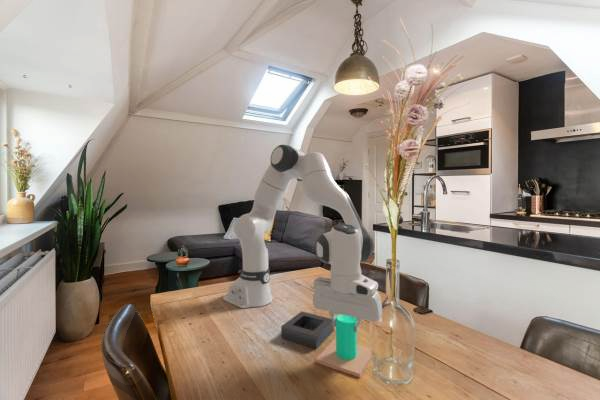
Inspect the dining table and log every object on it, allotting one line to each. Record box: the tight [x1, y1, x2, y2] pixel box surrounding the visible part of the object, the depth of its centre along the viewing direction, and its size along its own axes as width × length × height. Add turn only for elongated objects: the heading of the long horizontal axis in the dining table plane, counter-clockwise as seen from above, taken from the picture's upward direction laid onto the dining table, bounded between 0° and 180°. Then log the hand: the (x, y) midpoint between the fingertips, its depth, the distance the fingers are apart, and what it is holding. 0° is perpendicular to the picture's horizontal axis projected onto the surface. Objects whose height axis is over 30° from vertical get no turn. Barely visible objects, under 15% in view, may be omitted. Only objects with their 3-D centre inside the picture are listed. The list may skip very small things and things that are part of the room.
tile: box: [315, 337, 373, 378], centre depth 84 cm, size 13×13×1 cm
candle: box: [335, 314, 358, 360], centre depth 84 cm, size 6×6×12 cm
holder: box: [280, 311, 335, 350], centre depth 98 cm, size 13×13×4 cm
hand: (346, 328), depth 84 cm, fingers closed on candle, 4 cm apart
